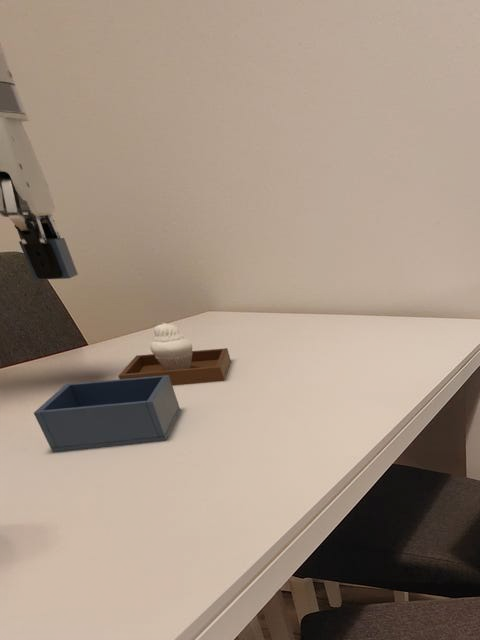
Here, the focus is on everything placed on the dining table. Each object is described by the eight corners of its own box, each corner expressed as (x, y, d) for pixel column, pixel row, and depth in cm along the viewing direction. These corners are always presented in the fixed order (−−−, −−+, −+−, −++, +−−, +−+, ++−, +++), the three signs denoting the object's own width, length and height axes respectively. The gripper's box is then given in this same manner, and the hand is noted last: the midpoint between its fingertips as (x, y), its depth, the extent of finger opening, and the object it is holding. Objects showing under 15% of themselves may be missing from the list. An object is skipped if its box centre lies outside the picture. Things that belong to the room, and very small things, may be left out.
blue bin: (52, 453, 68) (33, 412, 65) (81, 420, 77) (65, 383, 75) (166, 441, 70) (152, 401, 67) (180, 410, 80) (168, 374, 77)
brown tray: (123, 390, 88) (118, 375, 87) (140, 368, 99) (136, 355, 98) (224, 381, 91) (220, 366, 90) (230, 361, 102) (227, 348, 100)
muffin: (182, 364, 98) (167, 317, 94) (207, 368, 96) (193, 320, 91) (150, 373, 94) (133, 324, 89) (176, 377, 91) (159, 327, 87)
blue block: (34, 280, 82) (18, 241, 79) (44, 276, 86) (29, 239, 83) (69, 278, 83) (55, 240, 80) (78, 274, 86) (64, 238, 84)
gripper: (-20, 111, 79) (45, 270, 90) (-78, 96, 66) (6, 284, 77) (42, 111, 80) (98, 268, 91) (-3, 97, 67) (68, 281, 79)
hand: (55, 274), depth 84 cm, fingers closed on blue block, 4 cm apart
